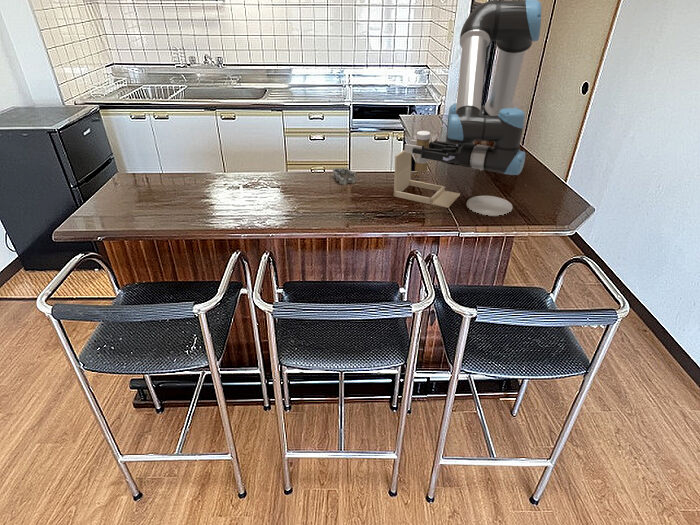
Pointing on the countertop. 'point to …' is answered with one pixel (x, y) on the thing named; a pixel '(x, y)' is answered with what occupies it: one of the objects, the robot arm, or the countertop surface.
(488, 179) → the countertop surface
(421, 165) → the spice jar
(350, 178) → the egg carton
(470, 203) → the stone mat
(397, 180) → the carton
